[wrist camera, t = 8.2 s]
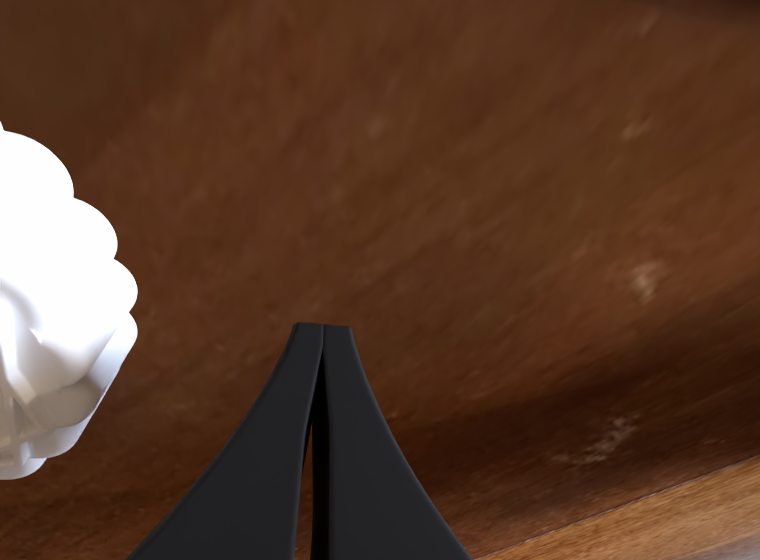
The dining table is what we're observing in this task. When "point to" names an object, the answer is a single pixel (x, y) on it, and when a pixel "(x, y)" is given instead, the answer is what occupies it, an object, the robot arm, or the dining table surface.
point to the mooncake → (54, 308)
